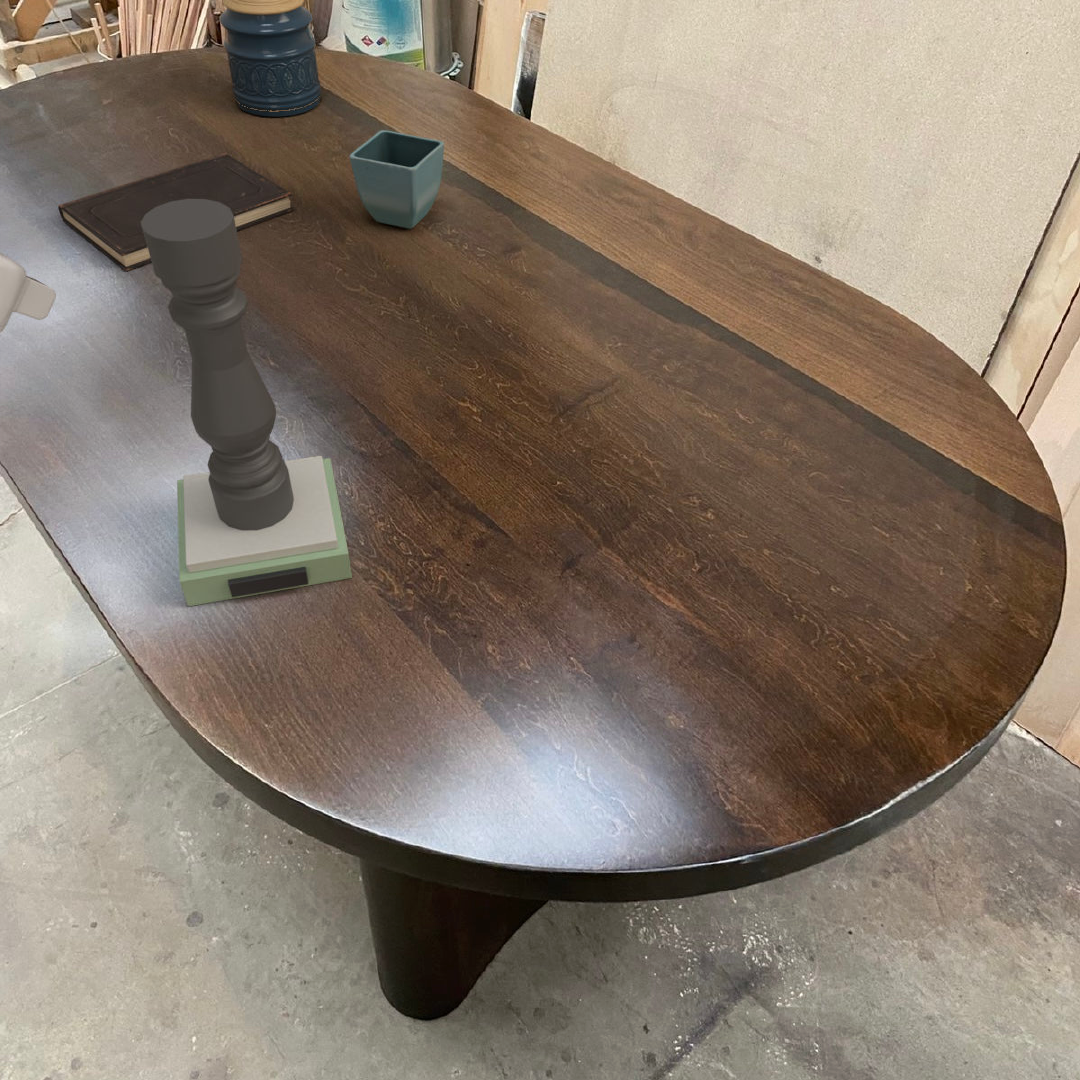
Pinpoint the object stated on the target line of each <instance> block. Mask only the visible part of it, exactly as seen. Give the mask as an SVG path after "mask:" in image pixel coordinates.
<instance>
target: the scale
mask: <svg viewBox="0 0 1080 1080" xmlns="http://www.w3.org/2000/svg"><path fill="white" fill-rule="evenodd" d="M284 461H285V464H286V466H287V468H288V472H289V477H290V482H291V487H292V492H293V497H294V501H293V507H292V510H291V511H290V512H289V514H288V515H287V516H286V517H285V519H283V520H281V521H280V522H278V523H277V524H275V525H273V526H271V527H267V528H264V529H260V530H239V529H236V528H232V527H229V526H228V525H226V524H225V523H224V522H223V521H222V520H220V518H219V515H218V512H217V509H216V506H215V502H214V498H213V495H212V491H211V488H210V484H209V481H208V479H209V475H210V471H209V472H208V471H207V472H206V471H205V472H200V473H199V472H198V473H194V474H186V475H183V477H182V479H177V481H176V491H177V492H176V493H177V495H176V496H177V528H178V529H177V534H178V535H177V537H178V575H179V576H178V577H179V581H178V582H179V585H180V587H181V591H182V593H183V596H184V599H185V601H186V604H187V607H193V606H199V605H205V604H210V603H217V602H223V601H228V600H233V599H239V598H244V597H251V596H255V595H262V594H267V593H273V592H274V593H275V592H279V591H285V590H289V589H291V590H292V589H296V588H303V587H309V586H314V585H319V584H325V583H331V582H337V581H341V580H343V581H344V580H349V579H352V578H353V574H352V568H351V567H352V566H351V560H350V555H349V549H348V544H347V543H348V542H347V538H346V532H345V529H344V528H345V527H344V523H343V522H344V521H343V518H342V511H341V507H340V501H339V496H338V491H337V485H336V481H335V476H334V469H333V465H332V464H333V463H332V460H331V458H330V457H327V458H323V456H322V455H316V456H309V457H302V458H295V459H289V460H284Z"/></svg>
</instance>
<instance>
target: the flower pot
mask: <svg viewBox="0 0 1080 1080" xmlns="http://www.w3.org/2000/svg"><path fill="white" fill-rule="evenodd" d="M444 152H445V142H444V141H443V140H437V139H435V138H434V139H433V138H428V137H422V136H418V135H417V136H416V135H413V134H405V133H401V132H396V131H392V130H387V129H386V130H385V129H380V130H379V131H377V132H376V133H375V134H374V135H373V136H371V137H370V138H369V139H368V140H366V141H365V142H364V143H362V144H361V145H360V146H359V147H357V148H356V149H355V150H354V151H353V152H351V153H350V154H349V156H348V157H349V162H350V166H351V170H352V174H353V178H354V181H355V182H354V183H355V186H356V191H357V193H358V196H359V198H360V201H361V203H362V205H363V206H364V208H365V209H366V211H367V212H368V213H369V215H370V216H371V217H372V218H373V219H374V221H375V222H377V223H380V224H386V225H391V226H395V227H396V226H397V227H399V228H404V229H408V230H409V229H410V230H411V229H413V228H415V226H417V224H419V222H421V221H422V220H423V219H424V218H425V217H426V216H427V215H428V213H429V212H430V210H431V208H432V207H433V205H434V203H435V200H436V198H437V196H438V193H439V190H440V186H441V183H442V174H443V167H444V166H443V164H444V155H445V154H444Z"/></svg>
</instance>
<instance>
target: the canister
mask: <svg viewBox="0 0 1080 1080" xmlns="http://www.w3.org/2000/svg"><path fill="white" fill-rule="evenodd" d="M304 3H305V0H222V5H223V6H224V7H225V8H226V9H225V10H223V12H222V13H221V14H220V16H219V23H220V25H221V26H222V27H223V28H224V30H225V37H226V38H225V39H224V42H223V46H224V49H225V50H226V56H227V59H228V60H227V61H228V66H229V71H230V77H231V82H232V85H231V89H232V95H233V97H234V99H235V101H236V100H237V101H238V102H239V103H240V104H239V103H238V102H237V101H236V102H235V103H236V105H237V106H238V107H239V108H240V109H241V110H242V111H244V112H246V113H248V114H252V115H255V116H260V117H261V116H262V117H269V118H270V117H271V118H272V117H273V118H274V117H276V118H278V117H279V118H280V117H290V116H295V115H300V114H304V113H307V112H309V111H310V110H313V109H314V108H316V107H317V106H318V105H319V104H320V101H321V93H322V88H321V81H320V78H319V72H318V71H319V70H318V64H317V55H316V48H315V47H316V46H315V45H316V39H315V37H314V36H313V34H312V33H311V27H310V24H311V23H312V22H313V14H312V13H311V11H310V10H309V9H307V8H306V7H305V6H303V5H304ZM319 96H320V97H319ZM318 97H319V99H318ZM316 99H318V100H317V101H315V100H316ZM314 101H315V102H314ZM312 102H314V103H312ZM310 103H312V104H311V105H308V104H310ZM242 105H243V106H242ZM306 105H308V106H306ZM244 106H246V107H244ZM304 106H306V107H304ZM247 107H248V108H247ZM300 107H303V108H300ZM250 108H254V109H258V110H254V109H250ZM294 108H300V109H295V110H290V111H279V112H269V111H270V110H272V111H276V110H289V109H294ZM259 110H267V111H259ZM268 110H269V111H268Z"/></svg>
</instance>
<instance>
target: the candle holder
mask: <svg viewBox="0 0 1080 1080" xmlns="http://www.w3.org/2000/svg"><path fill="white" fill-rule="evenodd" d="M141 225H142V229H143V233H144V236H145V240H146V244H147V247H148V251H149V254H150V258H151V265H152V268H153V272H154V274H155V276H156V277H157V278H159V279H160V281H161V284H162V286H163V287H164V288H165V289H167V290H168V291H169V292H170V293H171V296H172V297H170V300H169V302H168V304H167V309H168V313H169V315H170V318H171V321H172V322H174V324H177V326H179V327H180V328H182V329H184V333H185V337H186V341H187V344H188V349H189V352H190V356H191V389H190V390H191V393H190V394H191V396H190V418H191V421H192V425H193V427H194V430H195V432H196V434H197V436H198V437H199V438H200V439H202V440H203V442H205V443H206V444H207V445H209V446H210V448H211V450H212V451H211V452H210V455H209V458H208V461H207V468H208V471H209V472H210V475H209V479H208V481H209V484H210V488H211V491H212V495H213V498H214V502H215V506H216V509H217V512H218V515H219V518H220V520H222V521H223V522H224V523H225V524H226V525H228V526H229V527H232V528H236V529H239V530H260V529H264V528H267V527H271V526H273V525H275V524H277V523H278V522H280V521H281V520H283V519H285V517H286V516H287V515H288V514H289V512H290V511H291V510H292V507H293V501H294V497H293V492H292V487H291V482H290V477H289V472H288V468H287V466H286V464H285V461H286V460H284V459H283V454H282V451H281V450H280V448H279V446H278V445H277V444H276V443H275V442H273V441H272V440H270V439H271V435H272V432H273V429H274V426H275V421H276V417H277V408H276V405H275V403H274V400H273V398H272V395H271V394H270V392H269V390H268V388H267V386H266V385H265V382H264V380H263V378H262V377H261V375H260V373H259V370H258V368H257V366H256V365H255V363H254V361H253V359H252V357H251V354H250V353H249V351H248V347H247V342H246V338H245V333H244V328H243V323H242V318H243V317H244V316H245V315H246V313H247V309H248V304H249V301H248V299H247V296H246V294H245V292H244V291H243V290H241V289H240V288H239V287H236V286H237V282H238V280H239V276H240V273H241V266H242V264H243V256H242V250H241V246H240V240H239V235H238V231H237V230H236V225H235V220H234V215H233V213H232V211H231V210H230V208H229V207H227V206H225V205H224V204H222V203H220V202H216V201H212V200H207V199H184V200H177V201H171V202H168V203H165V204H163V205H160V206H157V207H155V208H154V209H152V210H151V211H149V212H148V213H147V214H145V216H144V218H143V220H142V222H141Z"/></svg>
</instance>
